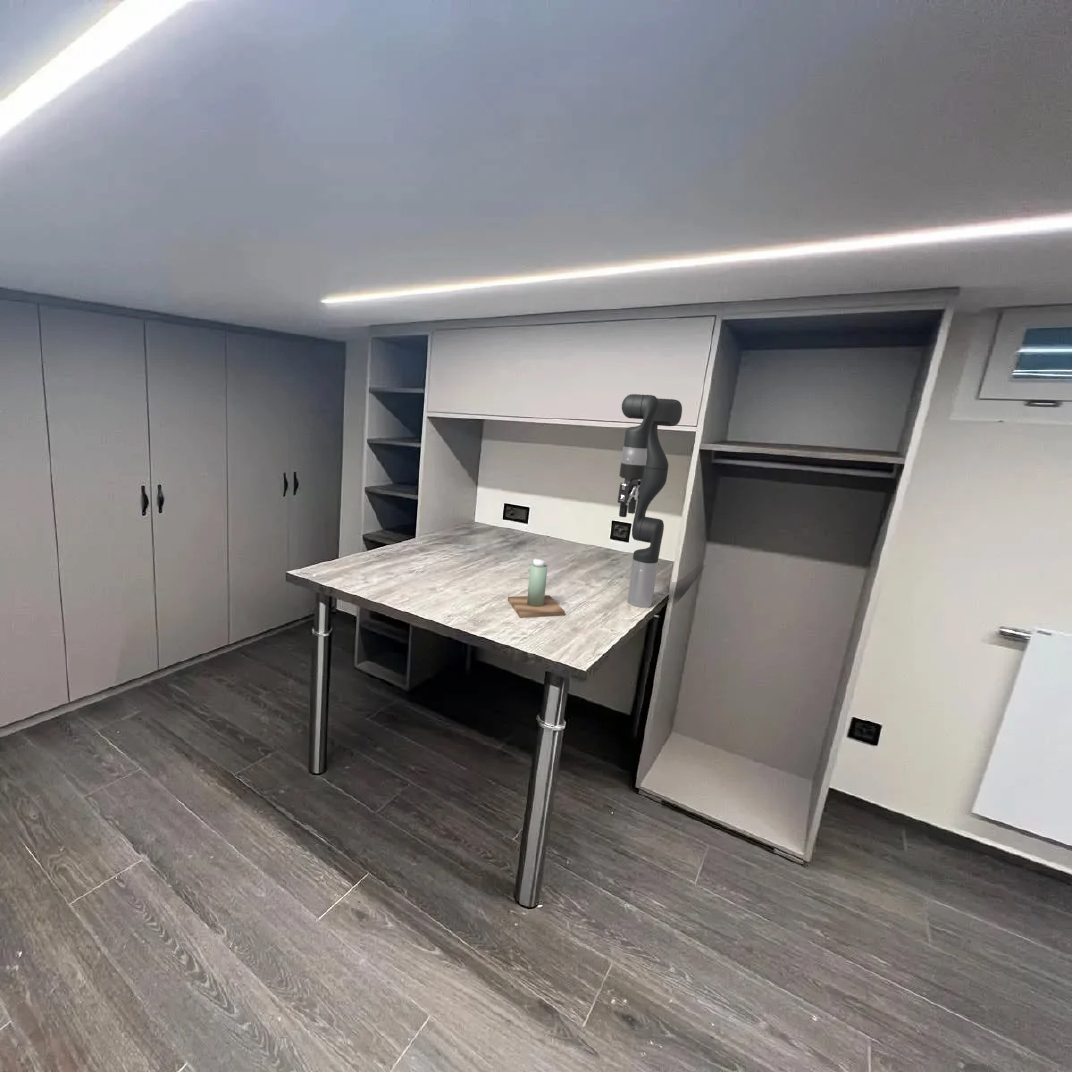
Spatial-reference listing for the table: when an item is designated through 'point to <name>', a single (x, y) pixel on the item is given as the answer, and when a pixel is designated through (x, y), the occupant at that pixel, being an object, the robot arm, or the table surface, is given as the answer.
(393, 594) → the table surface
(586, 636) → the table surface
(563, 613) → the brown wooden flat square
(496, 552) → the table surface
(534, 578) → the bottle
